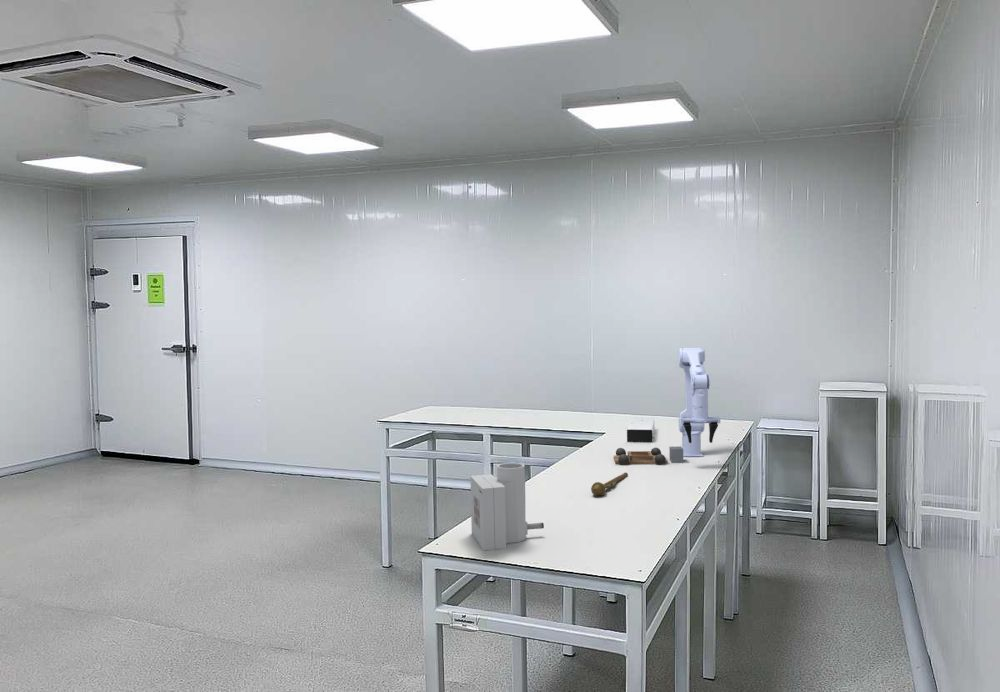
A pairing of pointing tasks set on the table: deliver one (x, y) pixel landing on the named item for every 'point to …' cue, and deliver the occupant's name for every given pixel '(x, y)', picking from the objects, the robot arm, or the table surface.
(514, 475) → the box with tube attached
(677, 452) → the block
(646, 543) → the table surface
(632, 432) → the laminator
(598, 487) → the ball-headed bronze rod
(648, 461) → the chassis
